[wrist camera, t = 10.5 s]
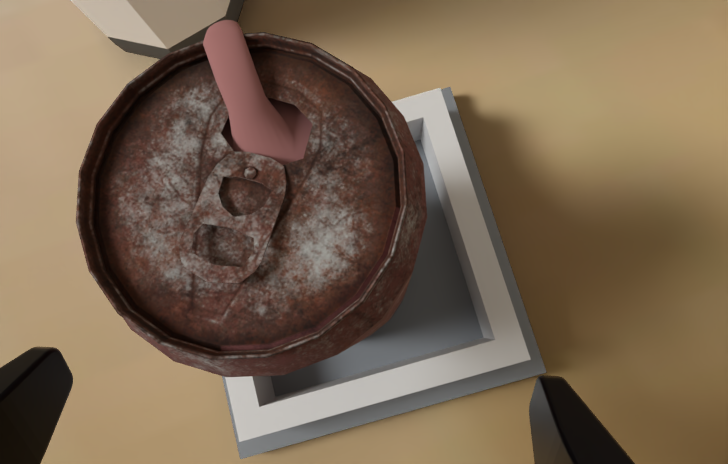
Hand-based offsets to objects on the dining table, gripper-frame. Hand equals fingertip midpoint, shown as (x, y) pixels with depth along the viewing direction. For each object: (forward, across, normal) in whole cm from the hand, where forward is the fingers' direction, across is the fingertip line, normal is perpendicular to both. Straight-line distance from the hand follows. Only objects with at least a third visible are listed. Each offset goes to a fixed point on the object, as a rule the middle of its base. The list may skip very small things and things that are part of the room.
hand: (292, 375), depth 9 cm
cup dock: (+12, 0, +7) cm, 13 cm away
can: (+11, +1, +6) cm, 13 cm away
